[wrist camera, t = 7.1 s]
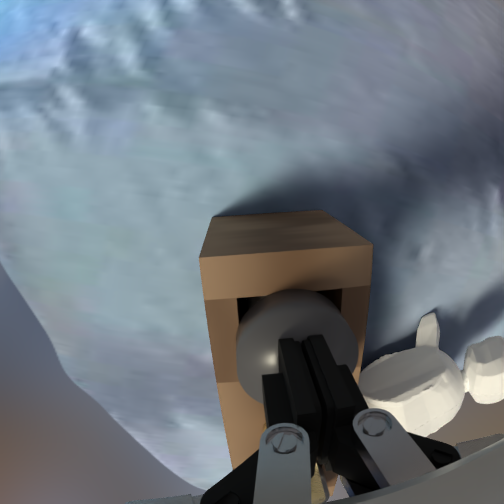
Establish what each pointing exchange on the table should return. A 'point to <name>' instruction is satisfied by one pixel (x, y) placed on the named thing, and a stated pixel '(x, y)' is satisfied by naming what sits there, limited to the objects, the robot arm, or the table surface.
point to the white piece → (433, 380)
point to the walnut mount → (270, 281)
